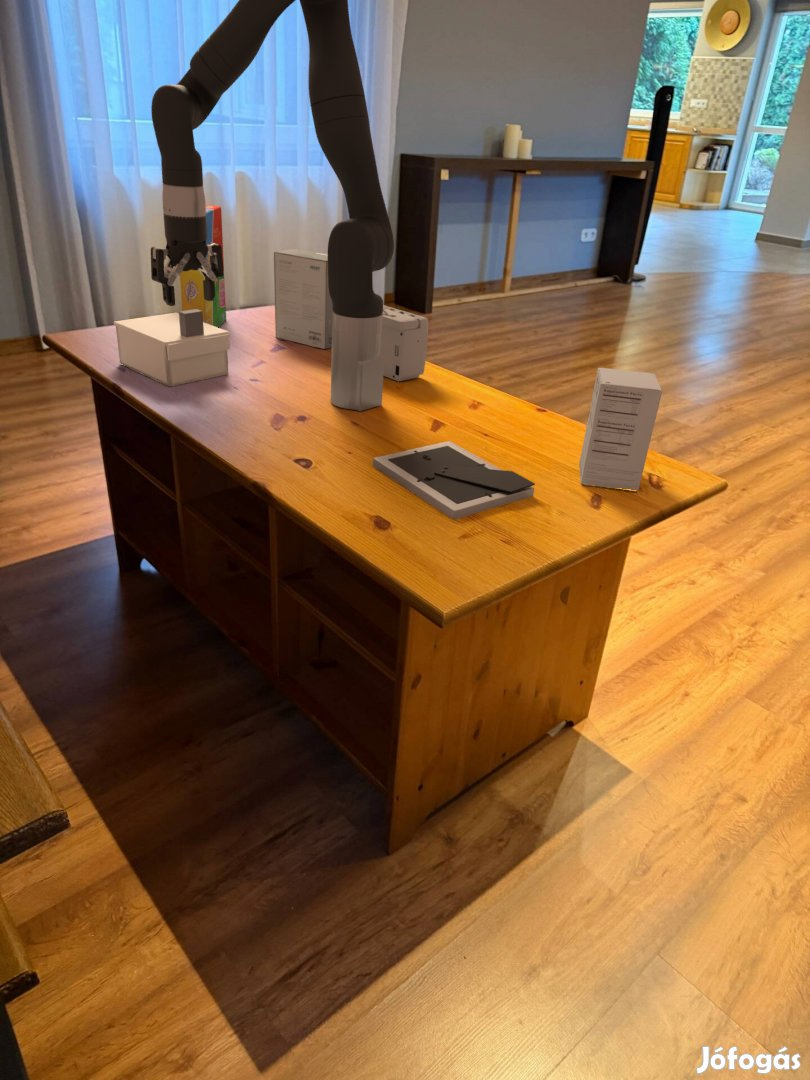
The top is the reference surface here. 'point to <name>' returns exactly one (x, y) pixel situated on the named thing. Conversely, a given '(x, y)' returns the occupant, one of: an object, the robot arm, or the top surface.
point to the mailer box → (167, 361)
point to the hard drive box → (302, 298)
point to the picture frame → (454, 479)
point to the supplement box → (619, 428)
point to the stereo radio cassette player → (403, 344)
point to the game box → (194, 279)
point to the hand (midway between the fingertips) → (190, 302)
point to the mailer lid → (179, 333)
